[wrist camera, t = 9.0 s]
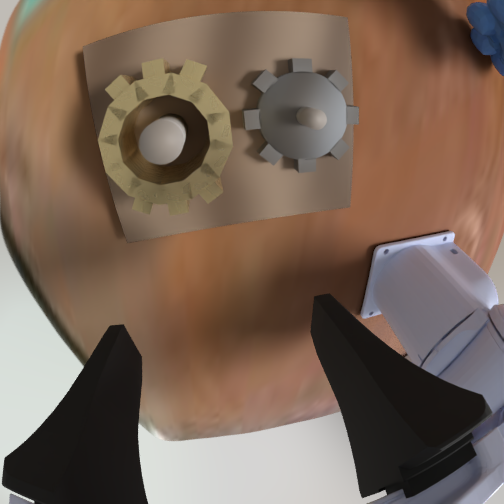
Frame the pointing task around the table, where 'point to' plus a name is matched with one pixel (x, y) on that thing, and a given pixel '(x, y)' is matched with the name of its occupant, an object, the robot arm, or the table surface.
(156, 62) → the gear
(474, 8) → the grapes
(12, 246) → the table surface
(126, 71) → the gear board
